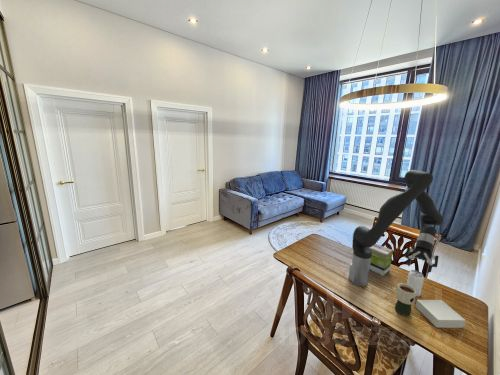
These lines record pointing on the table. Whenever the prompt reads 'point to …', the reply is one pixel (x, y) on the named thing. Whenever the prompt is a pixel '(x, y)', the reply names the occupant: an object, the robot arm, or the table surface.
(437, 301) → the cream plinth
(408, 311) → the character mug
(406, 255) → the robot arm
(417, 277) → the can
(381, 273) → the tea box
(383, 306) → the table surface
